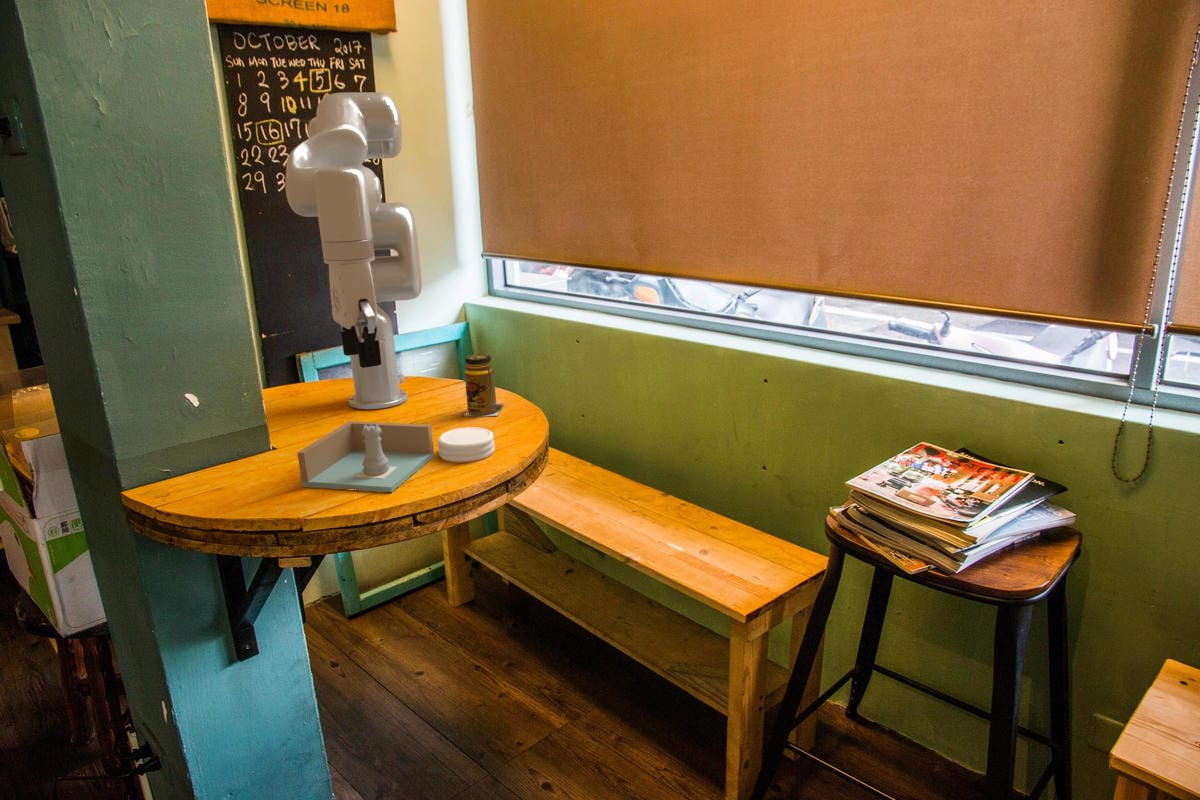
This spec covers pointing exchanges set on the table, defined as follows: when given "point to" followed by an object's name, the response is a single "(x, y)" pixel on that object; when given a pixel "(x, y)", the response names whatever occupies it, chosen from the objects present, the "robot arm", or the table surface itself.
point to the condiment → (480, 387)
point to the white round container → (466, 444)
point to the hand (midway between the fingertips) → (362, 360)
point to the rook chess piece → (374, 451)
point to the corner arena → (345, 450)
